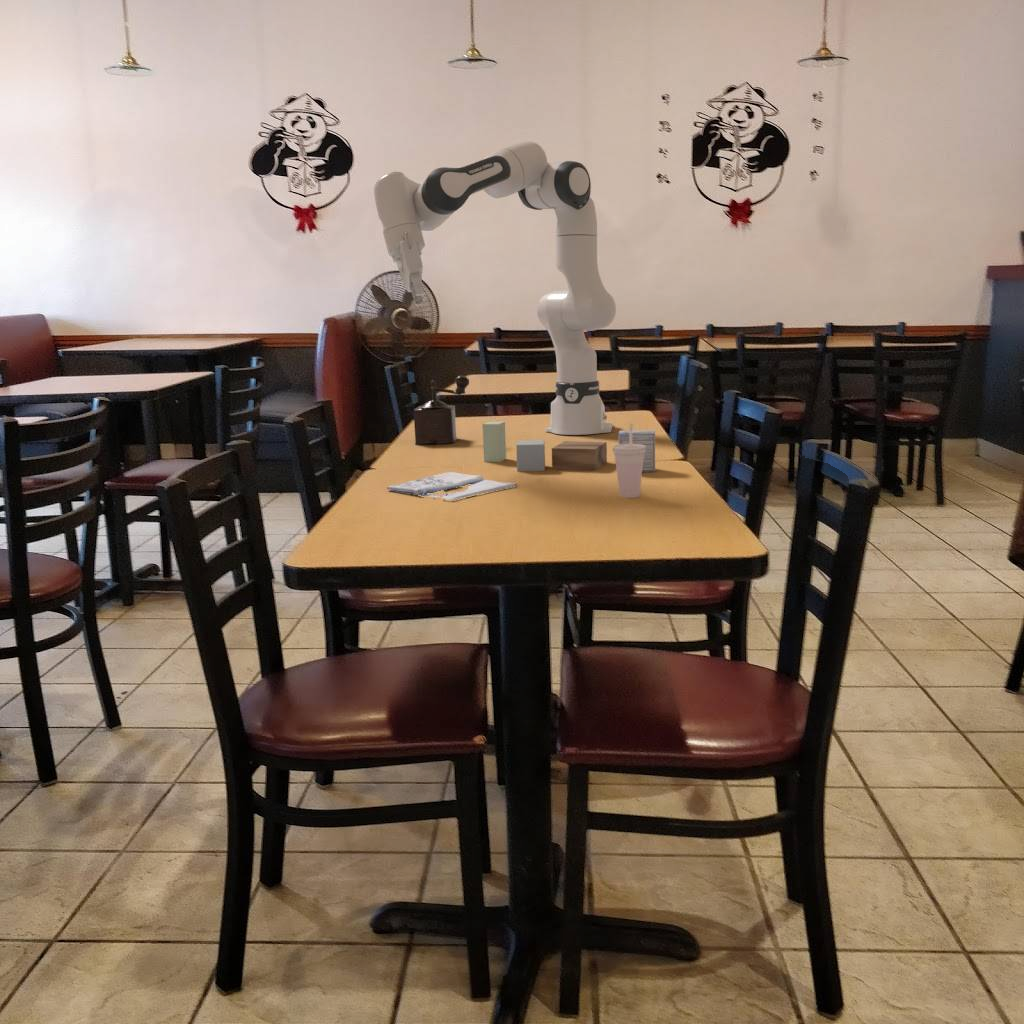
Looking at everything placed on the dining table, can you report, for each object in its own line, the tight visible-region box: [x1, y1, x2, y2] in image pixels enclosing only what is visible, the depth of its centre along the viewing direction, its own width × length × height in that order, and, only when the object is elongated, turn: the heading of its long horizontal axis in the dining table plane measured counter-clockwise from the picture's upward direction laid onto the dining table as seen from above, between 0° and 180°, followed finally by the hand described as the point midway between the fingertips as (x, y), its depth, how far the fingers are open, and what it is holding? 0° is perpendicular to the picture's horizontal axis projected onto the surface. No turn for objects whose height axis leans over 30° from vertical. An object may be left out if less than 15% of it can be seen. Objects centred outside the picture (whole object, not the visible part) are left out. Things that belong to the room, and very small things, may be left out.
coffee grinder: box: [413, 375, 470, 446], centre depth 258 cm, size 16×11×18 cm
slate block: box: [516, 439, 546, 472], centre depth 215 cm, size 6×6×6 cm
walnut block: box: [551, 440, 608, 471], centre depth 217 cm, size 10×10×5 cm
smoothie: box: [612, 423, 646, 499], centre depth 182 cm, size 6×6×14 cm
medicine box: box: [618, 429, 656, 473], centre depth 208 cm, size 8×4×9 cm, turn 84°
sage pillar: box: [482, 420, 507, 463], centre depth 227 cm, size 4×4×9 cm
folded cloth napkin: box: [386, 471, 517, 501], centre depth 196 cm, size 19×20×2 cm
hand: (420, 299), depth 223 cm, fingers open, 8 cm apart
